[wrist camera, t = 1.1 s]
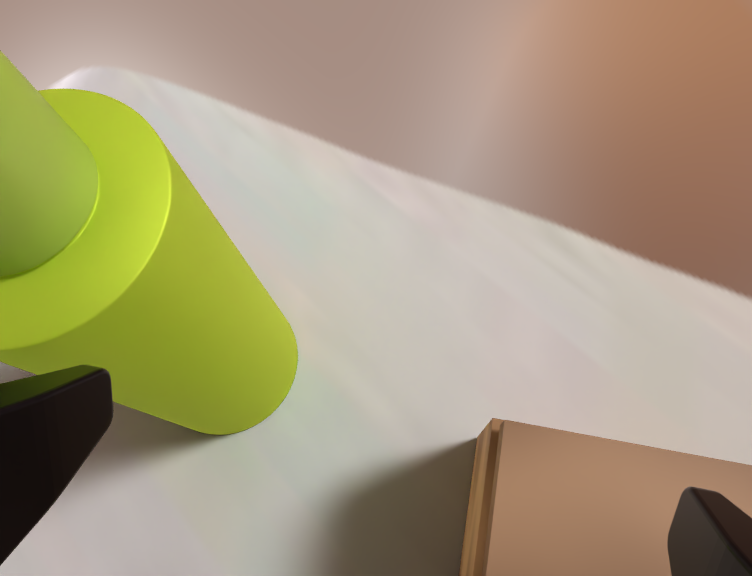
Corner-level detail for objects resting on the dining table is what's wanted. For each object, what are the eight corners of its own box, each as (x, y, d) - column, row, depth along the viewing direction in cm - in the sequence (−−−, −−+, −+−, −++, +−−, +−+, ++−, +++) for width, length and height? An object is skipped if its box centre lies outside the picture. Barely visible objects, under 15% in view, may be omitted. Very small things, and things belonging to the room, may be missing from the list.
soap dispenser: (347, 359, 24) (78, -203, 5) (200, 466, 23) (-847, 257, 4) (269, 254, 26) (-137, -442, 7) (131, 347, 24) (-798, -175, 6)
